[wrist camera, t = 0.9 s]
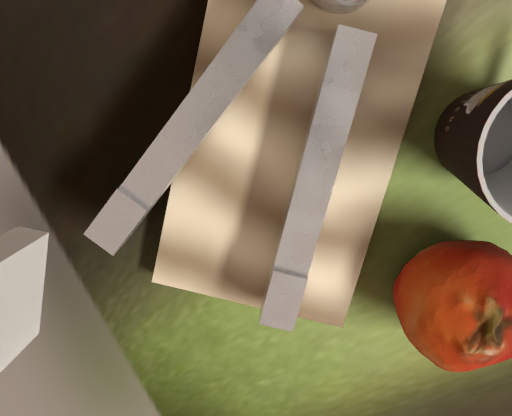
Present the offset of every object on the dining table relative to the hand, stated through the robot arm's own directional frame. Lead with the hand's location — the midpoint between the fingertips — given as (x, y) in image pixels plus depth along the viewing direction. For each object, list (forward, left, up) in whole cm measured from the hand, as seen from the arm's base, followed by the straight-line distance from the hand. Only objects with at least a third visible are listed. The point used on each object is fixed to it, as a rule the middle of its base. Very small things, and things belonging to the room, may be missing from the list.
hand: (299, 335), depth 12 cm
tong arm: (-2, -7, -21) cm, 22 cm away
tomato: (+5, +14, -24) cm, 28 cm away
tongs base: (-6, 0, -22) cm, 23 cm away
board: (-5, 0, -24) cm, 24 cm away
